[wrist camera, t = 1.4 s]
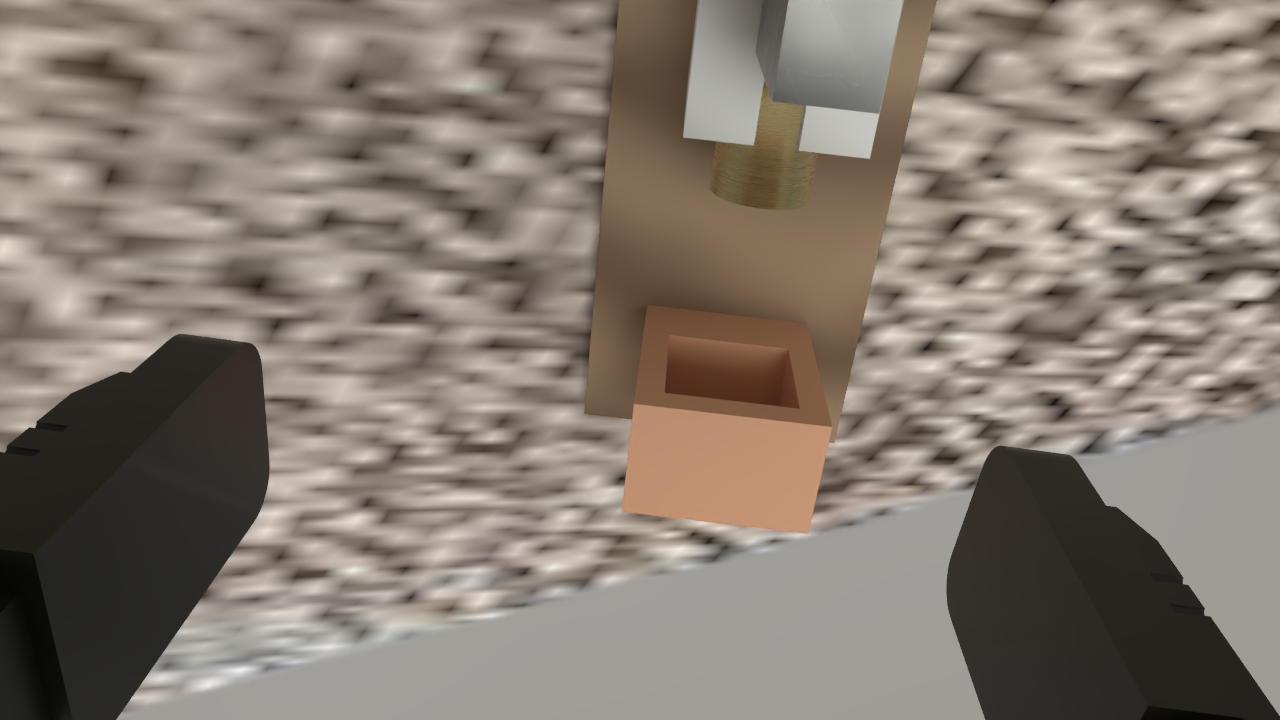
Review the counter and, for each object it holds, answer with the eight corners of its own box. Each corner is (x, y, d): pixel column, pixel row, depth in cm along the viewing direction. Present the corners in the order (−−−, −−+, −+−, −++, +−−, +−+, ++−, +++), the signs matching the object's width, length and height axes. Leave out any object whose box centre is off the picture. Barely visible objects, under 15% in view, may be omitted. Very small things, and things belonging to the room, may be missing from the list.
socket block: (647, 304, 34) (634, 403, 28) (807, 323, 34) (832, 426, 28) (636, 397, 36) (621, 511, 30) (788, 415, 36) (808, 533, 30)
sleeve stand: (652, -355, 27) (632, -453, 19) (996, -316, 27) (1114, -400, 19) (588, 395, 38) (560, 519, 30) (829, 423, 38) (861, 555, 30)
